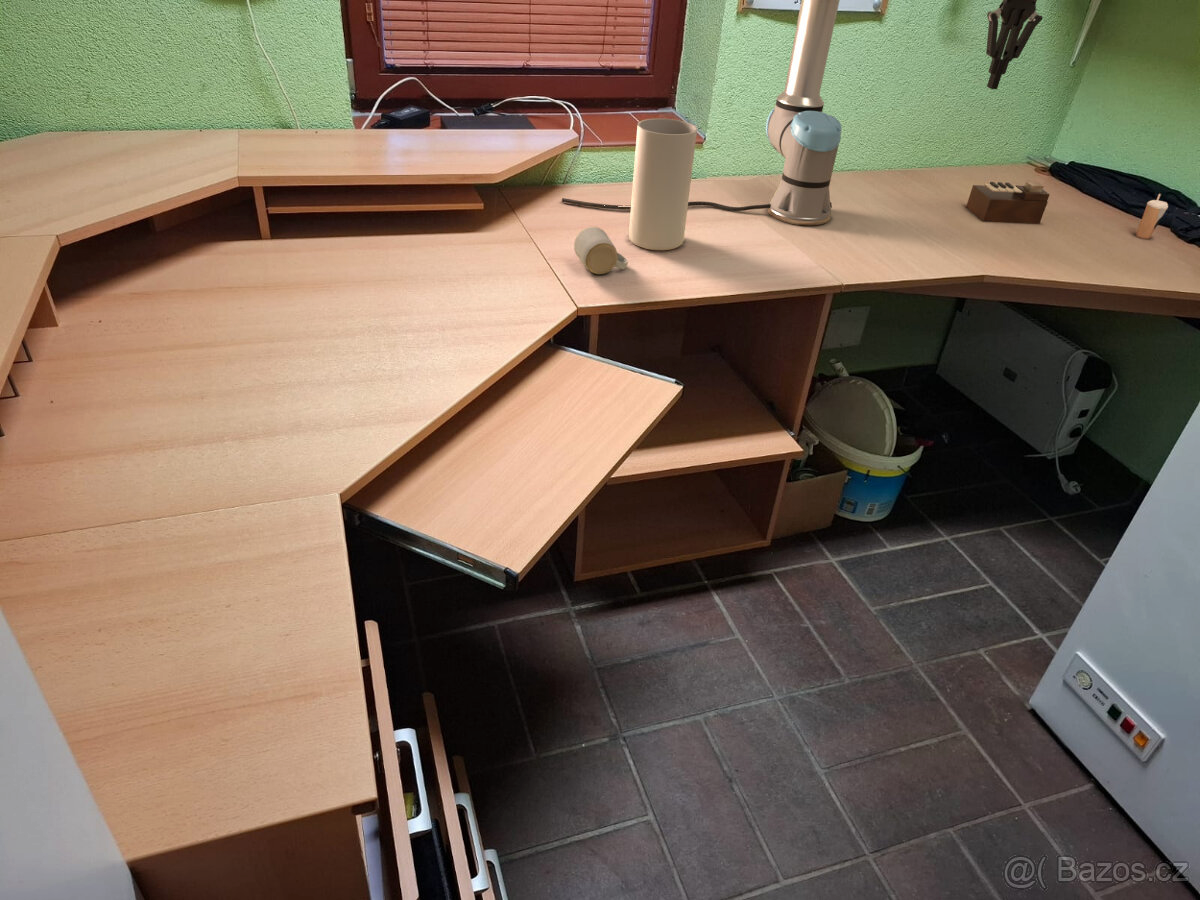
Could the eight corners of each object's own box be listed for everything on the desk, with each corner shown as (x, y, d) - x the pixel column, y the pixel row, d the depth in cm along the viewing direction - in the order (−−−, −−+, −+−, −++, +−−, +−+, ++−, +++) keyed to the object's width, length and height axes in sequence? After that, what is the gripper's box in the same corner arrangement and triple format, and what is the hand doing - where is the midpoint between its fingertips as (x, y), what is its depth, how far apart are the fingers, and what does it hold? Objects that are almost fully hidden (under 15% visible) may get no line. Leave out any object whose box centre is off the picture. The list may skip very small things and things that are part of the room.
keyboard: (992, 191, 204) (993, 188, 203) (983, 184, 208) (984, 181, 207) (1022, 192, 204) (1023, 189, 204) (1012, 185, 208) (1014, 182, 208)
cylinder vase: (694, 242, 185) (709, 128, 170) (660, 256, 177) (672, 138, 162) (651, 226, 191) (662, 115, 177) (617, 239, 184) (625, 124, 169)
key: (1028, 193, 206) (1031, 185, 204) (1023, 189, 208) (1026, 181, 207) (1041, 193, 206) (1044, 186, 205) (1035, 189, 208) (1038, 182, 207)
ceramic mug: (585, 278, 166) (587, 242, 161) (572, 262, 172) (574, 227, 167) (632, 274, 169) (636, 239, 165) (619, 258, 175) (622, 224, 171)
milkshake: (1151, 234, 207) (1170, 195, 201) (1153, 241, 203) (1172, 201, 197) (1132, 230, 208) (1149, 192, 202) (1133, 237, 204) (1151, 198, 198)
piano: (983, 221, 208) (993, 192, 203) (965, 206, 216) (975, 178, 212) (1039, 223, 209) (1050, 194, 204) (1020, 208, 217) (1030, 180, 213)
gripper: (1045, -20, 194) (1010, 85, 208) (992, -24, 193) (960, 83, 207) (1060, -16, 188) (1023, 92, 202) (1006, -20, 187) (972, 90, 201)
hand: (991, 87), depth 204 cm, fingers closed
